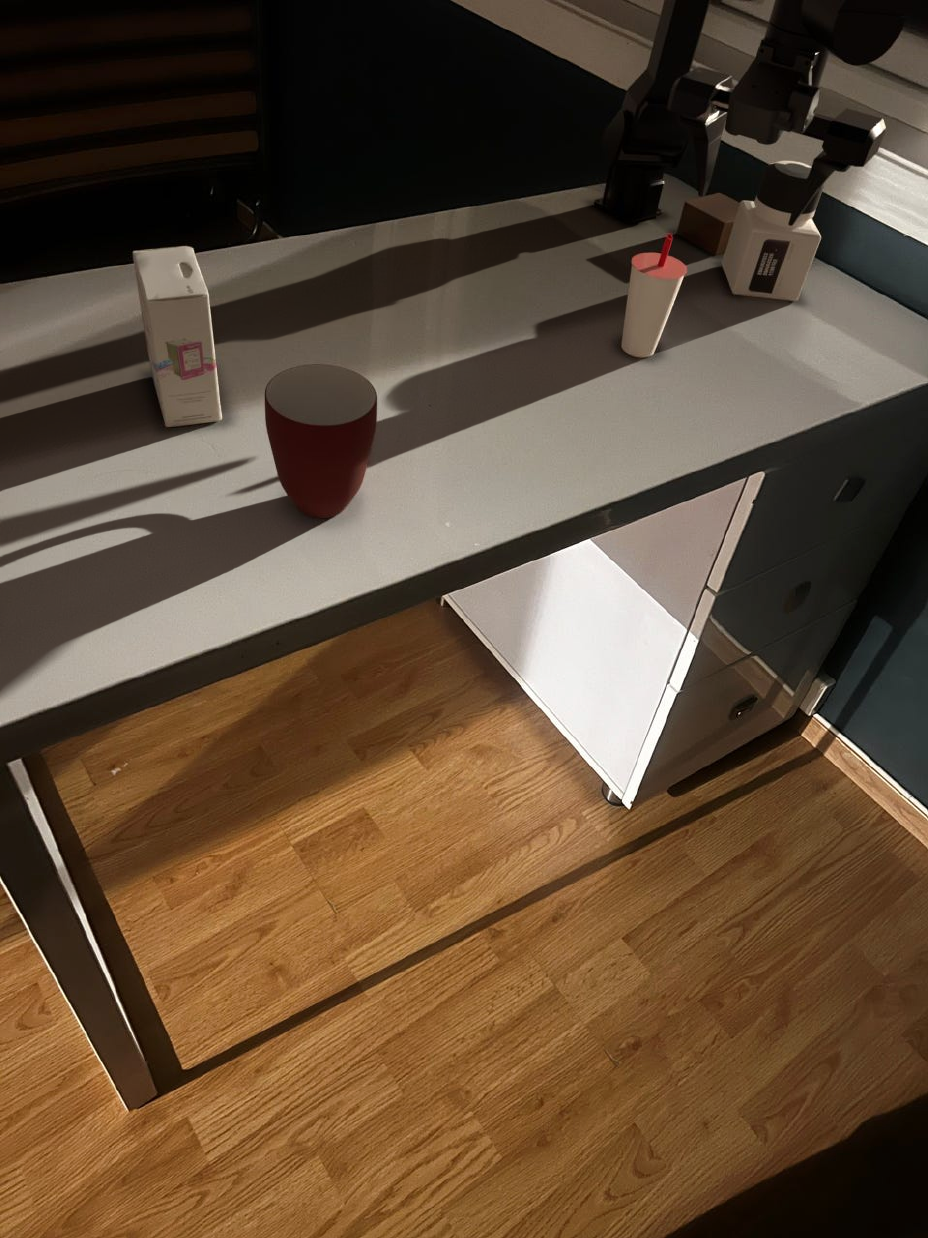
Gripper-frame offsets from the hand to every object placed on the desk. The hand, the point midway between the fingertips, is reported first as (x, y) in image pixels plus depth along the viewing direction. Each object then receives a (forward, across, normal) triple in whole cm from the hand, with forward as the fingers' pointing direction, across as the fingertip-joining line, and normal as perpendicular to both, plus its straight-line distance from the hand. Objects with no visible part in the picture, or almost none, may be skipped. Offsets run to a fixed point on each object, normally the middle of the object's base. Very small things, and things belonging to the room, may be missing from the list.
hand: (745, 209), depth 94 cm
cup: (+13, -4, -8) cm, 16 cm away
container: (+13, 0, +16) cm, 20 cm away
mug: (+13, -16, -48) cm, 52 cm away
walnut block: (+13, -8, +23) cm, 28 cm away
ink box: (+13, -32, -44) cm, 56 cm away
